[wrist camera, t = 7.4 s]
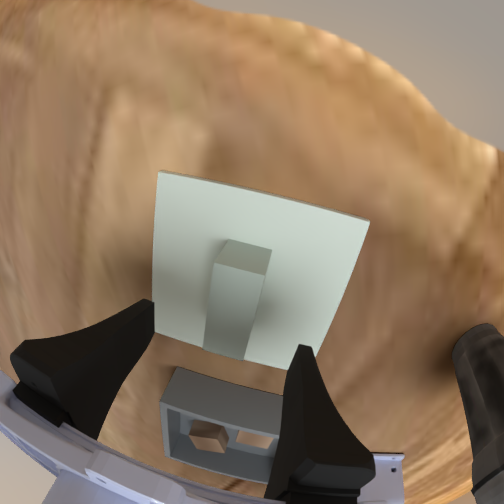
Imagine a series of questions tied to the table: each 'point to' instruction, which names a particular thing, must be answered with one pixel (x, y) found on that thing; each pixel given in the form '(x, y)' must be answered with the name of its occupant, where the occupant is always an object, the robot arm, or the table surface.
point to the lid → (248, 268)
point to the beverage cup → (483, 407)
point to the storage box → (222, 413)
